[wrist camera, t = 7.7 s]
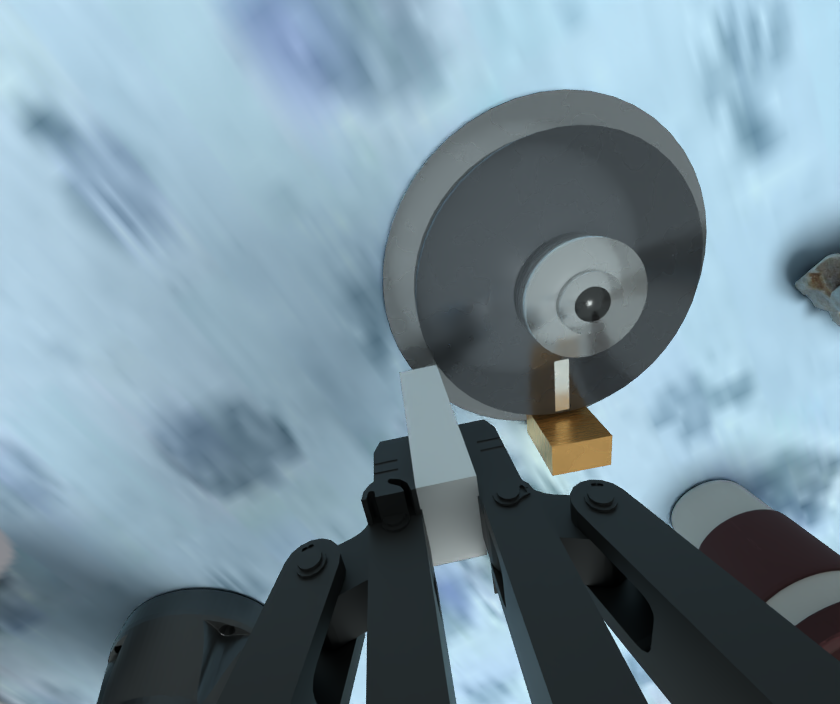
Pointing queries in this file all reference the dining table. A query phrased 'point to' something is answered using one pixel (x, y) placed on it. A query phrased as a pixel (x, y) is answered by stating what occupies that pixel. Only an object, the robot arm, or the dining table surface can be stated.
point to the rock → (823, 285)
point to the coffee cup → (766, 556)
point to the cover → (580, 293)
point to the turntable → (517, 239)
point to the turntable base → (463, 154)
